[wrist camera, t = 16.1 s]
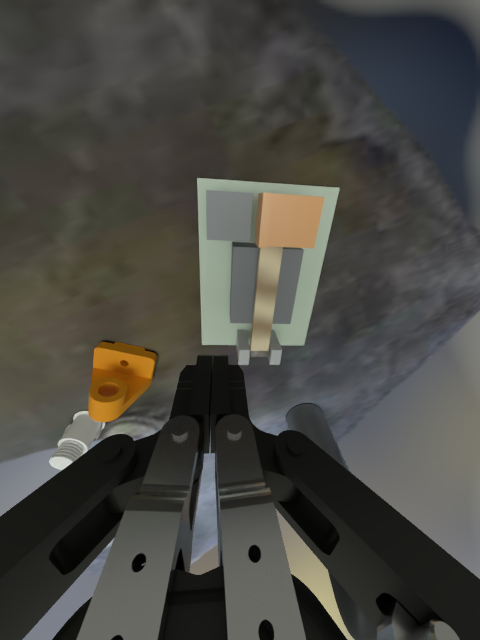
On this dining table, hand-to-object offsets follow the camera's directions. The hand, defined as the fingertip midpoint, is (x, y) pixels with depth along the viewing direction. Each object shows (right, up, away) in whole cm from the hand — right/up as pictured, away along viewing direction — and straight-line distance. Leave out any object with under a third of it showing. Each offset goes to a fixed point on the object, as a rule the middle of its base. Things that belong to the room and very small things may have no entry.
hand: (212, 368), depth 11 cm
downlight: (-34, -21, +42) cm, 58 cm away
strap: (+5, +7, +23) cm, 24 cm away
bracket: (-21, -5, +34) cm, 41 cm away
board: (+5, +10, +28) cm, 30 cm away
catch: (+7, +15, +16) cm, 23 cm away
